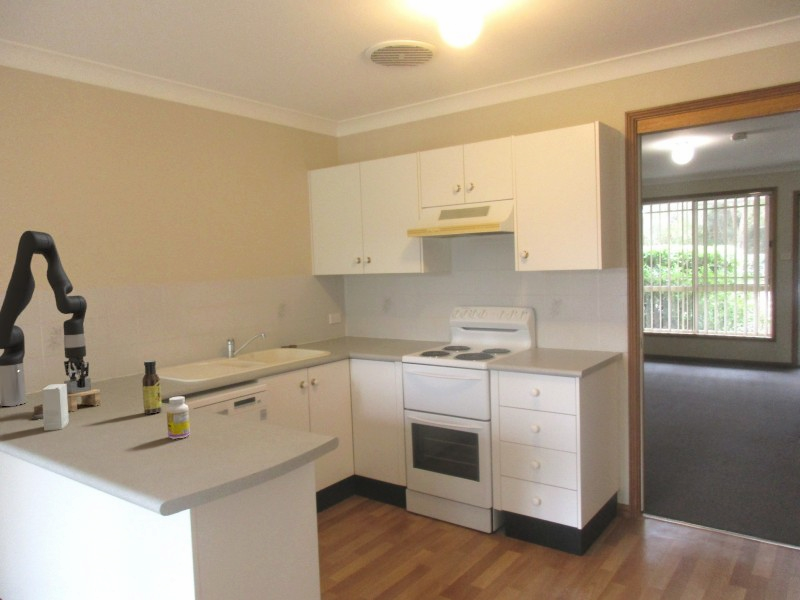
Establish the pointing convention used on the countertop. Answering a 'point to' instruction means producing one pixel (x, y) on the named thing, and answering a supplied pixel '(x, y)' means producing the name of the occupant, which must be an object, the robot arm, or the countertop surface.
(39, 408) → the walnut block
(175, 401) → the supplement bottle
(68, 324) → the robot arm
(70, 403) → the stand
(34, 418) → the rubber puck
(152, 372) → the sauce bottle
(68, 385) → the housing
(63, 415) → the skincare box
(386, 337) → the countertop surface
